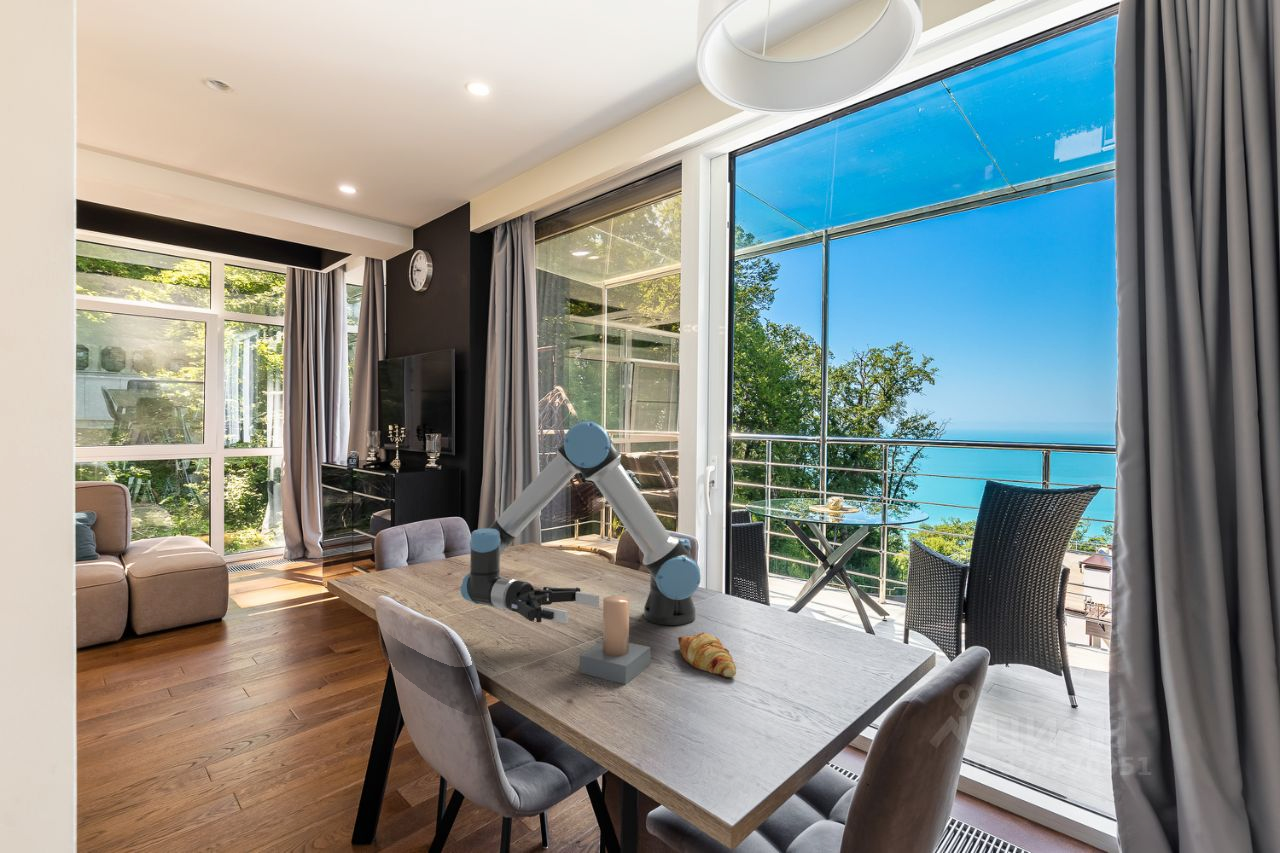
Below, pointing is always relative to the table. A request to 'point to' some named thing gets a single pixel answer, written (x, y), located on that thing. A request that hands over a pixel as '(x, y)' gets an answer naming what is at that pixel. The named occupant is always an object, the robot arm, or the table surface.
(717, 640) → the croissant
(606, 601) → the canister
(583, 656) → the pedestal
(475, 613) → the table surface
